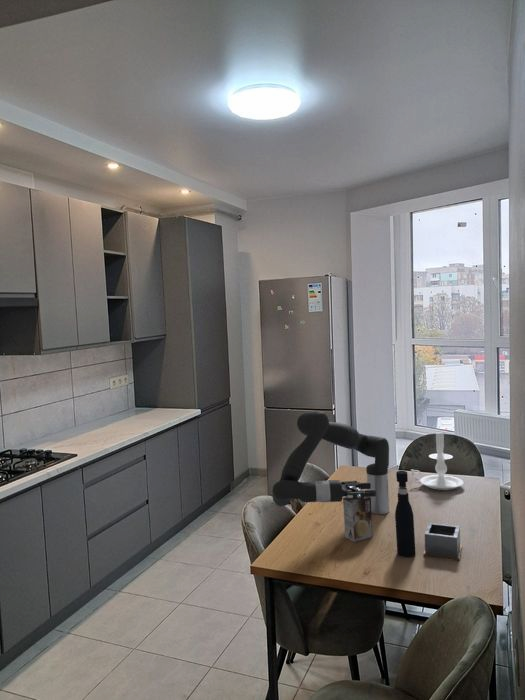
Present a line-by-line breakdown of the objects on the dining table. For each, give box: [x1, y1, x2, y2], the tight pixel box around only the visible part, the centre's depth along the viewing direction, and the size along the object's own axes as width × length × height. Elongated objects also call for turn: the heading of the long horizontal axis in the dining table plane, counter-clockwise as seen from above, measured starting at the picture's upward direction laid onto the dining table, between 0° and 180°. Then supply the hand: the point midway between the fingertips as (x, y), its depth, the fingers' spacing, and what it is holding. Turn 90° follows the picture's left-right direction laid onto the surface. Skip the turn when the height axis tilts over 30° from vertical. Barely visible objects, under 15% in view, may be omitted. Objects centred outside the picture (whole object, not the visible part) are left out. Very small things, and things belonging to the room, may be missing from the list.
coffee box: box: [342, 494, 374, 543], centre depth 210 cm, size 9×6×16 cm
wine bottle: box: [394, 470, 417, 558], centre depth 193 cm, size 6×6×30 cm
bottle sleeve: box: [422, 522, 463, 562], centre depth 194 cm, size 12×12×8 cm
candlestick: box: [410, 432, 465, 491], centre depth 264 cm, size 21×25×28 cm
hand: (372, 489), depth 192 cm, fingers open, 8 cm apart
